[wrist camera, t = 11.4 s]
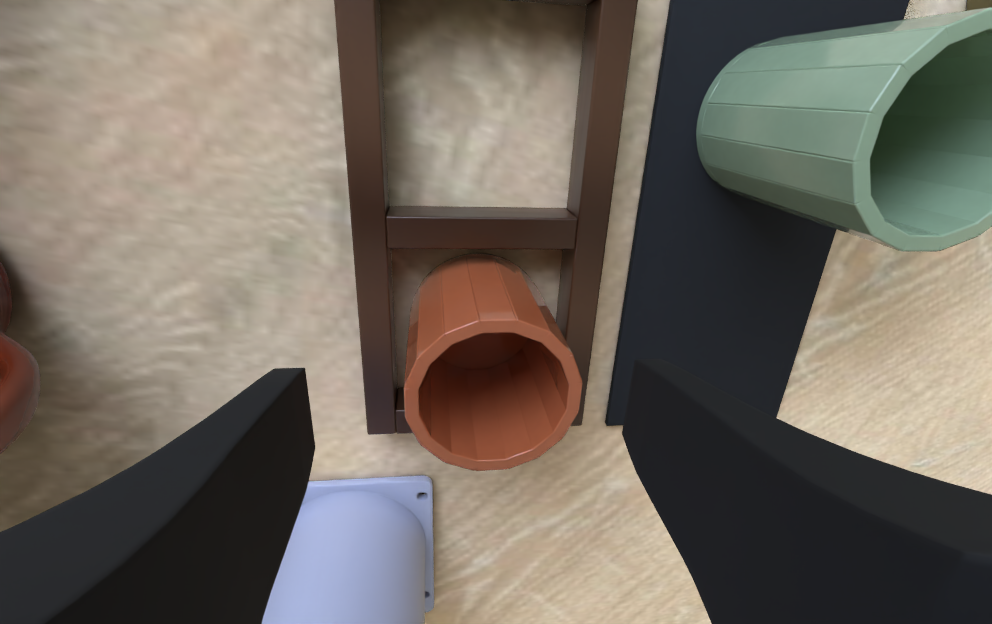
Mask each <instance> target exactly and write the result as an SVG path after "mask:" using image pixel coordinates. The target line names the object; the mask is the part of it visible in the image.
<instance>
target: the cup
mask: <svg viewBox="0 0 992 624" xmlns="http://www.w3.org/2000/svg"><path fill="white" fill-rule="evenodd" d="M696 142H697V149H698V153H699V157H700V160H701V162H702V165H703V167H704V168H705V170H706V172H707V173H708V174H709V176H710V177H711V178H712V179H713V180H714V181H715V182H716V183H717V184H718V185H720V186H722V187H723V188H725V189H727V190H729V191H732V192H734V193H737V194H739V195H740V196H743V197H746V198H749V199H751V200H754V201H757V202H760V203H763V204H766V205H769V206H772V207H774V208H777V209H780V210H783V211H786V212H789V213H792V214H795V215H798V216H800V217H803V218H806V219H809V220H812V221H815V222H818V223H821V224H823V225H826V226H829V227H832V228H835V229H838V230H841V231H844V232H847V233H849V234H852V235H855V236H858V237H861V238H864V239H867V240H870V241H873V242H875V243H878V244H881V245H884V246H887V247H890V248H893V249H896V250H898V251H941V250H944V249H946V248H949V247H952V246H954V245H957V244H959V243H962V242H965V241H967V240H970V239H973V238H975V237H977V236H978V235H981V234H982V233H984V232H985V231H986V230H988V229H989V228H990V227H992V7H989V8H982V9H975V10H968V11H961V12H954V13H947V14H940V15H933V16H926V17H919V18H912V19H905V20H898V21H891V22H884V23H877V24H870V25H863V26H856V27H849V28H842V29H835V30H828V31H821V32H814V33H807V34H800V35H793V36H786V37H780V38H777V39H774V40H770V41H765V42H762V43H759V44H756V45H754V46H752V47H750V48H748V49H746V50H745V51H743V52H742V53H740V54H738V55H737V56H736V57H735V58H734V59H732V60H731V61H730V62H729V63H728V64H727V65H726V66H725V67H724V68H723V69H722V70H721V71H720V73H719V74H718V75H717V77H716V78H715V79H714V81H713V82H712V84H711V86H710V87H709V89H708V91H707V93H706V95H705V97H704V99H703V102H702V105H701V108H700V111H699V115H698V120H697V127H696Z"/></svg>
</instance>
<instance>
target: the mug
mask: <svg viewBox="0 0 992 624" xmlns="http://www.w3.org/2000/svg"><path fill="white" fill-rule="evenodd" d="M11 313H12V293H11V287H10V283H9V279H8V276H7V272H6V270H5V268H4V266H3V264H2V262H1V261H0V454H1V453H3V452H4V451H5V450H6V449H7V448H8V447H9V446H10V445H11V444H12V443H13V442H14V441H15V440H16V439H17V438H18V436H19V435H20V434H21V433H22V432H23V431H24V429H25V428H26V427H27V425H28V424H29V422H30V421H31V419H32V417H33V415H34V413H35V411H36V408H37V405H38V402H39V397H40V387H41V379H40V371H39V366H38V364H37V361H36V359H35V357H34V356H33V355H32V354H31V353H30V352H29V351H28V350H27V349H26V348H24V347H23V346H22V345H20V344H19V343H17V342H16V341H14V340H13V339H11V338H10V337H8V336H7V335H6V334H4V333H5V332H6V330H7V328H8V325H9V322H10V318H11Z"/></svg>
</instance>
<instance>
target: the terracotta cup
mask: <svg viewBox="0 0 992 624" xmlns="http://www.w3.org/2000/svg"><path fill="white" fill-rule="evenodd" d="M581 391H582V378H581V375H580V373H579V370H578V367H577V364H576V361H575V358H574V355H573V353H572V351H571V350H570V348H569V346H568V344H567V342H566V340H565V338H564V337H563V335H562V333H561V331H560V329H559V327H558V326H557V324H556V322H555V320H554V318H553V316H552V314H551V313H550V311H549V309H548V307H547V305H546V303H545V301H544V300H543V298H542V296H541V294H540V292H539V290H538V288H537V287H536V285H535V284H534V283H533V282H532V280H531V279H530V277H529V276H528V275H527V274H526V273H525V272H524V271H523V270H522V269H521V268H520V267H518V266H517V265H515V264H514V263H512V262H510V261H508V260H506V259H504V258H501V257H498V256H495V255H490V254H467V255H462V256H459V257H455V258H452V259H450V260H448V261H446V262H444V263H442V264H441V265H439V266H438V267H436V268H435V269H434V270H433V271H431V272H430V273H429V274H428V275H427V276H426V278H425V279H424V280H423V281H422V283H421V284H420V286H419V288H418V289H417V291H416V293H415V296H414V299H413V303H412V307H411V310H410V320H409V332H408V344H407V356H406V368H405V380H404V408H405V418H406V421H407V423H408V424H409V426H410V428H411V430H412V431H413V433H414V435H415V437H416V439H417V440H418V442H419V443H420V445H421V446H423V447H424V448H425V449H427V450H428V451H429V452H431V453H432V454H433V455H435V456H436V457H437V458H439V459H440V460H442V461H443V462H445V463H448V464H452V465H455V466H459V467H462V468H466V469H470V470H473V471H475V470H476V471H485V470H504V469H507V468H508V469H510V468H512V467H515V466H518V465H520V464H523V463H526V462H528V461H531V460H534V459H536V458H538V457H540V456H541V455H542V454H544V453H545V452H546V451H547V450H549V449H550V448H551V447H552V446H554V445H555V444H556V443H557V442H559V441H560V440H561V439H562V438H563V437H564V436H565V434H566V432H567V431H568V429H569V427H570V426H571V424H572V422H573V421H574V419H575V417H576V416H577V414H578V411H579V407H580V399H581Z"/></svg>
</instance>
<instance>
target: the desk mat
mask: <svg viewBox="0 0 992 624" xmlns="http://www.w3.org/2000/svg"><path fill="white" fill-rule="evenodd" d="M908 3H909V0H670V6H669V12H668V19H667V25H666V32H665V38H664V45H663V51H662V58H661V64H660V70H659V77H658V83H657V90H656V96H655V103H654V109H653V116H652V122H651V129H650V135H649V142H648V148H647V155H646V161H645V168H644V174H643V181H642V187H641V194H640V200H639V207H638V213H637V219H636V226H635V232H634V239H633V245H632V252H631V258H630V265H629V271H628V278H627V284H626V291H625V297H624V304H623V310H622V317H621V323H620V330H619V336H618V343H617V349H616V355H615V362H614V368H613V375H612V381H611V388H610V394H609V401H608V407H607V414H606V420H605V423H606V425H607V426H615V425H624V420H625V414H626V408H627V402H628V397H629V391H630V385H631V379H632V374H633V368H634V362H635V359H662V360H665V361H667V362H670V363H672V364H674V365H676V366H678V367H680V368H682V369H684V370H686V371H688V372H690V373H691V374H693V375H695V376H697V377H699V378H701V379H703V380H704V381H706V382H708V383H710V384H712V385H714V386H715V387H717V388H719V389H721V390H723V391H725V392H726V393H728V394H730V395H732V396H734V397H736V398H738V399H739V400H741V401H743V402H745V403H747V404H749V405H751V406H753V407H755V408H757V409H759V410H761V411H763V412H765V413H767V414H769V415H771V416H773V417H775V418H776V417H777V414H778V411H779V407H780V404H781V401H782V398H783V395H784V392H785V389H786V385H787V382H788V379H789V376H790V373H791V370H792V367H793V364H794V360H795V357H796V354H797V351H798V348H799V345H800V342H801V338H802V335H803V332H804V329H805V326H806V323H807V320H808V316H809V313H810V310H811V307H812V304H813V301H814V298H815V295H816V291H817V288H818V285H819V282H820V279H821V276H822V273H823V269H824V266H825V263H826V260H827V257H828V254H829V251H830V248H831V244H832V241H833V238H834V235H835V232H836V229H835V228H832V227H829V226H826V225H823V224H821V223H818V222H815V221H812V220H809V219H806V218H803V217H800V216H798V215H795V214H792V213H789V212H786V211H783V210H780V209H777V208H774V207H772V206H769V205H766V204H763V203H760V202H757V201H754V200H751V199H749V198H746V197H743V196H740V195H739V194H737V193H734V192H732V191H729V190H727V189H725V188H723V187H722V186H720V185H718V184H717V183H716V182H715V181H714V180H713V179H712V178H711V177H710V176H709V174H708V173H707V172H706V170H705V168H704V167H703V165H702V162H701V160H700V157H699V153H698V149H697V142H696V127H697V120H698V115H699V111H700V108H701V105H702V102H703V99H704V97H705V95H706V93H707V91H708V89H709V87H710V86H711V84H712V82H713V81H714V79H715V78H716V77H717V75H718V74H719V73H720V71H721V70H722V69H723V68H724V67H725V66H726V65H727V64H728V63H729V62H730V61H731V60H732V59H734V58H735V57H736V56H737V55H738V54H740V53H742V52H743V51H745V50H746V49H748V48H750V47H752V46H754V45H756V44H759V43H762V42H765V41H770V40H774V39H777V38H780V37H786V36H793V35H800V34H807V33H814V32H821V31H828V30H835V29H842V28H849V27H856V26H863V25H870V24H877V23H884V22H891V21H898V20H903V19H904V16H905V13H906V9H907V6H908Z"/></svg>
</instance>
